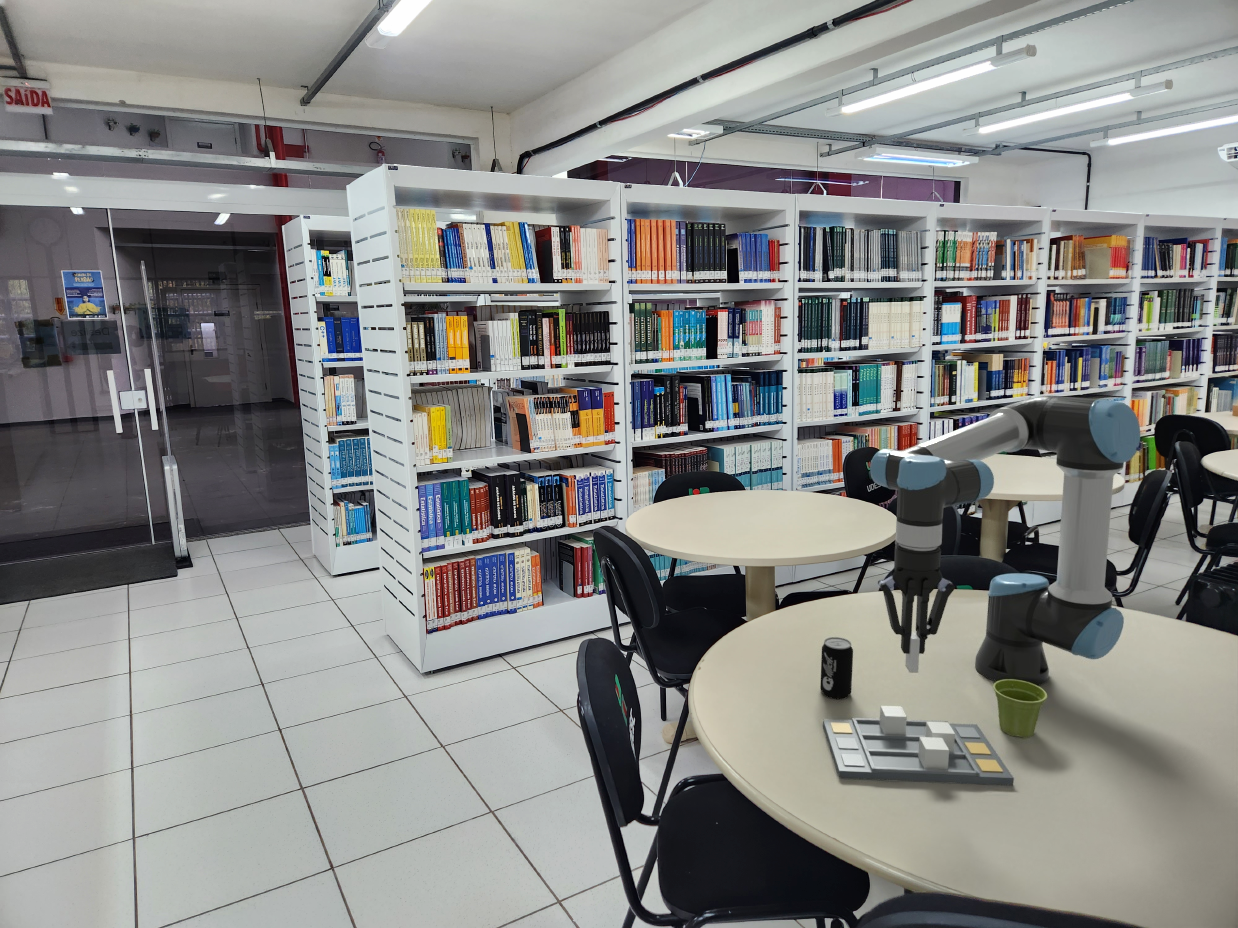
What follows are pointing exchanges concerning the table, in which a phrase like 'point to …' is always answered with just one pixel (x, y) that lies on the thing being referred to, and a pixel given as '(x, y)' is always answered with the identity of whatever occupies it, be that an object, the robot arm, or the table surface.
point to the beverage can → (836, 668)
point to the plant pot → (1018, 706)
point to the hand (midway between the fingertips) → (911, 669)
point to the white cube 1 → (893, 720)
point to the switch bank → (911, 754)
